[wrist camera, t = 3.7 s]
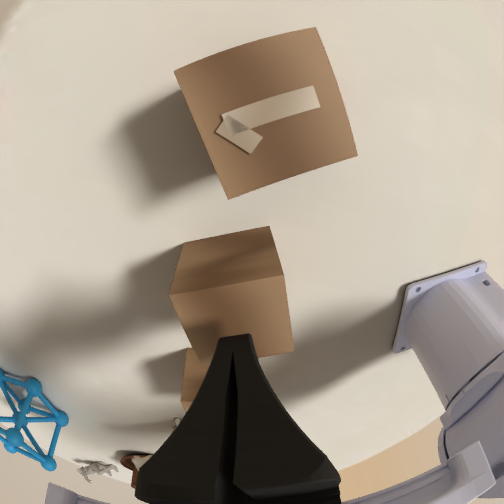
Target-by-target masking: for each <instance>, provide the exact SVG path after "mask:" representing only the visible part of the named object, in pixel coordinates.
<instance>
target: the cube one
mask: <svg viewBox="0 0 504 504" xmlns="http://www.w3.org/2000/svg"><path fill="white" fill-rule="evenodd" d="M174 74H175V76H176V78H177V81H178V83H179V85H180V88H181V90H182V92H183V95H184V97H185V100H186V102H187V104H188V107H189V109H190V111H191V114H192V116H193V118H194V121H195V123H196V125H197V128H198V130H199V133H200V135H201V137H202V140H203V142H204V144H205V147H206V149H207V151H208V154H209V156H210V158H211V161H212V163H213V165H214V168H215V170H216V172H217V175H218V177H219V180H220V182H221V184H222V187H223V189H224V191H225V194H226V196H227V198H228V200H229V199H232V198H234V197H237V196H240V195H242V194H245V193H248V192H250V191H253V190H256V189H259V188H261V187H264V186H267V185H270V184H273V183H276V182H278V181H281V180H284V179H287V178H290V177H293V176H296V175H299V174H302V173H305V172H308V171H311V170H314V169H317V168H320V167H323V166H327V165H330V164H333V163H336V162H339V161H343V160H346V159H349V158H353V157H356V156H358V154H357V150H356V146H355V142H354V138H353V134H352V131H351V127H350V123H349V120H348V116H347V113H346V110H345V106H344V103H343V100H342V97H341V93H340V90H339V87H338V84H337V81H336V78H335V75H334V73H333V70H332V67H331V64H330V62H329V59H328V56H327V54H326V51H325V48H324V46H323V43H322V41H321V38H320V36H319V34H318V31H317V29H316V27H314V28H308V29H303V30H298V31H293V32H288V33H284V34H280V35H276V36H272V37H268V38H264V39H260V40H257V41H253V42H250V43H246V44H243V45H240V46H237V47H234V48H231V49H228V50H225V51H222V52H219V53H216V54H214V55H211V56H208V57H206V58H203V59H201V60H198V61H196V62H193V63H191V64H189V65H186V66H184V67H182V68H179V69H177V70H175V71H174Z"/></svg>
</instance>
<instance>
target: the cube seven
mask: <svg viewBox="0 0 504 504" xmlns="http://www.w3.org/2000/svg"><path fill="white" fill-rule="evenodd" d="M209 366H210V365H203V366H202V365H201V363H200V361H199V359H198V357H197V355H196V353H195V351H194V349H193V348H187V351H186V359H185V367H184V376H183V385H182V394H181V403H182V405H183V407H184V409H185V411H186V412H187V411H188V409H189V407H190V406H191V404H192V402H193V400H194V398H195V397H196V395H197V393H198V390H199V388H200V386H201V384H202V382H203V380H204V378H205V375H206V373H207V371H208V368H209Z"/></svg>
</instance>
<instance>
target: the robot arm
mask: <svg viewBox="0 0 504 504" xmlns="http://www.w3.org/2000/svg"><path fill="white" fill-rule="evenodd" d="M486 268H487V263H486V262H485V261H481V262H478V263H475V264H472V265H469V266H466V267H463V268H460V269H457V270H454V271H451V272H448V273H445V274H442V275H439V276H435V277H432V278H429V279H425V280H422V281H419V282H415V283H412V284H410V285H408V287H407V288H406V291H405V297H404V302H403V307H402V311H401V316H400V321H399V325H398V329H397V333H396V337H395V341H394V345H393V349H392V350H393V352H394V353H399V352H402V351H405V350H408V349H411V348H412V349H413V350H414V352H415V354H416V355H417V357H418V359H419V361H420V363H421V364H422V366H423V368H424V370H425V372H426V373H427V375H428V377H429V379H430V381H431V383H432V385H433V387H434V388H435V390H436V392H437V394H438V396H439V398H440V400H441V402H442V404H443V406H444V408H445V410H446V412H445V413H444V414H443V415H442V416H441V417H440V419H441V422H442V424H443V426H444V427H443V428H442V429H441V431H440V434H439V437H438V453H439V458H440V462H441V465H439V466H437V467H435V468H433V469H431V470H429V471H427V472H424V473H423V474H420V475H418V476H416V477H414V478H411V479H409V480H407V481H404V482H402V483H399V484H397V485H394V486H392V487H389V488H386V489H384V490H381V491H378V492H375V493H372V494H369V495H366V496H363V497H359V498H356V499H353V500H349V501H345V502H341V499H340V490H339V483H340V482H341V478H340V475H339V473H338V472H337V470H336V469H335V467H334V466H333V464H332V463H331V462H330V460H329V459H328V458H327V456H326V455H325V454H324V453H323V452H322V451H321V450H320V449H319V448H318V447H317V446H316V445H315V444H314V443H313V442H312V441H311V440H310V439H309V438H308V437H307V435H306V434H305V433H304V432H303V431H302V430H301V429H300V427H299V426H298V425H297V424H296V422H295V421H294V420H293V419H292V418H291V416H290V415H289V414H288V412H287V411H286V409H285V408H284V407H283V405H282V404H281V402H280V401H279V399H278V398H277V396H276V394H275V393H274V391H273V389H272V388H271V386H270V384H269V382H268V381H267V379H266V377H265V375H264V373H263V371H262V368H261V366H260V364H259V361H258V357H257V353H256V350H255V346H254V342H253V339H252V335H251V334H249V333H247V334H240V335H234V336H227V337H221V338H219V339H218V342H217V346H216V349H215V352H214V355H213V358H212V360H211V363H210V366H209V368H208V371H207V373H206V375H205V378H204V380H203V382H202V384H201V386H200V388H199V390H198V393H197V395H196V397H195V398H194V400H193V402H192V404H191V406H190V407H189V409H188V411H187V412H186V414H185V415H184V417H183V418H182V420H181V421H180V423H179V424H178V426H177V427H176V429H175V430H174V431H173V433H172V434H171V435H170V436H169V438H168V439H167V440H166V441H165V442H164V443H163V445H162V446H161V447H160V448H159V449H158V450H157V451H156V453H155V454H154V455H152V456H151V457H150V458H149V459H148V460H147V461H146V462H145V463H144V464H143V465H142V466H141V467H140V468H139V472H138V475H137V480H136V488H135V497H136V498H137V499H139V500H141V501H144V502H146V503H149V504H468V503H470V502H471V501H473V500H474V499H476V498H504V290H503V289H502V288H501V287H500V286H499V285H498V284H497V283H496V282H495V281H494V280H493V279H492V278H491V277H490V276H489V275H488V274H487V273H486V272H485V271H486ZM45 504H109V503H105V502H101V501H98V500H94V499H91V498H87V497H84V496H81V495H78V494H76V493H74V492H73V491H70V490H68V489H66V488H63V487H61V486H58V485H55V484H53V483H49V484H48V489H47V494H46V499H45Z"/></svg>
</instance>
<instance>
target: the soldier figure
mask: <svg viewBox="0 0 504 504" xmlns="http://www.w3.org/2000/svg"><path fill="white" fill-rule="evenodd" d="M100 469H101V470H100ZM111 469H114V470H115V471H116V472H118V469H117V468H116V467H115V466H114V465H112V464H111V465H110V466H108V467H106V466H104V465H102V464H99V463H96V462H94V463H92V464H90V465H89V466H85V468H83V466H82V467H81V468H80V469H77V471H78V472H79V473H80V474H82V475H83V476H84V477H85V479H86V480H87V481H88V482H89V483H90V481H91V480H89V479H88V477H87V475H89V474H94V473H95V472H96V473H98V474H99V475H102V474H103V473H105V472H106V473H108V474H109V475H110V476H112V474H111V472H110V470H111Z"/></svg>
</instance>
